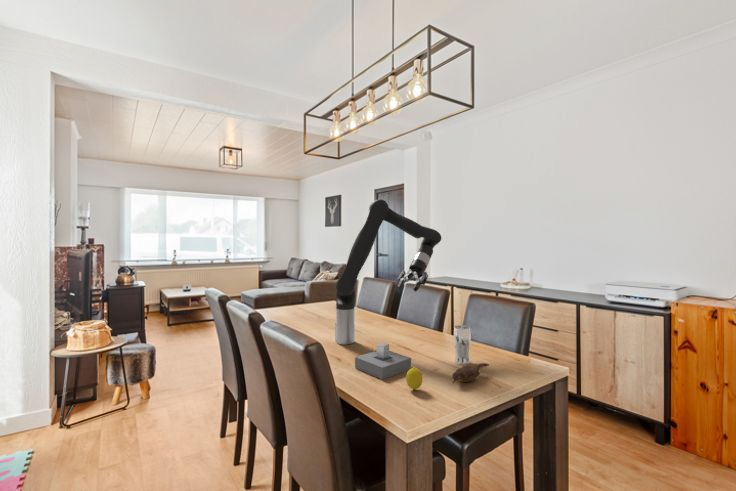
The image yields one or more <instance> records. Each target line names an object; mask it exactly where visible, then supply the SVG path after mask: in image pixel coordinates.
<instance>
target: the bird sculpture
mask: <svg viewBox="0 0 736 491" xmlns="http://www.w3.org/2000/svg"><path fill="white" fill-rule="evenodd" d="M488 366H490V364H489V363H485V362H483V363H474V364H467V365H463V366H461V367H460V368H457V369H456V370H455V371H454V372H453V373H452V379H453V380H452V384H454V383H455V382H459V381H460V382H463V383H469V382H471V381H474V380H476V379H477V377H479V376H480V370H481V369H483V368H485V367H488Z"/></svg>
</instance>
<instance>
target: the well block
mask: <svg viewBox="0 0 736 491" xmlns="http://www.w3.org/2000/svg"><path fill="white" fill-rule="evenodd" d="M354 368H355V369H357V370H359V371H361V372H364V373H366V374H369V375H370V376H372V377H375V378H377V379H380V380H381V381H383V380H386V379H388V378H390V377H393V376H396V375H399V374H401V373H404V372H408V371H409V370H410V369H411V368H412V358H411V357H409V356H406V355H403V354H400V353H397V352H394V351H391V350H389V359H388V360H385V361H381V360H378V359H377V350H375V351H370V352H368V353H364V354H361V355H358V356H357V355H356V356H354Z"/></svg>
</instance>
